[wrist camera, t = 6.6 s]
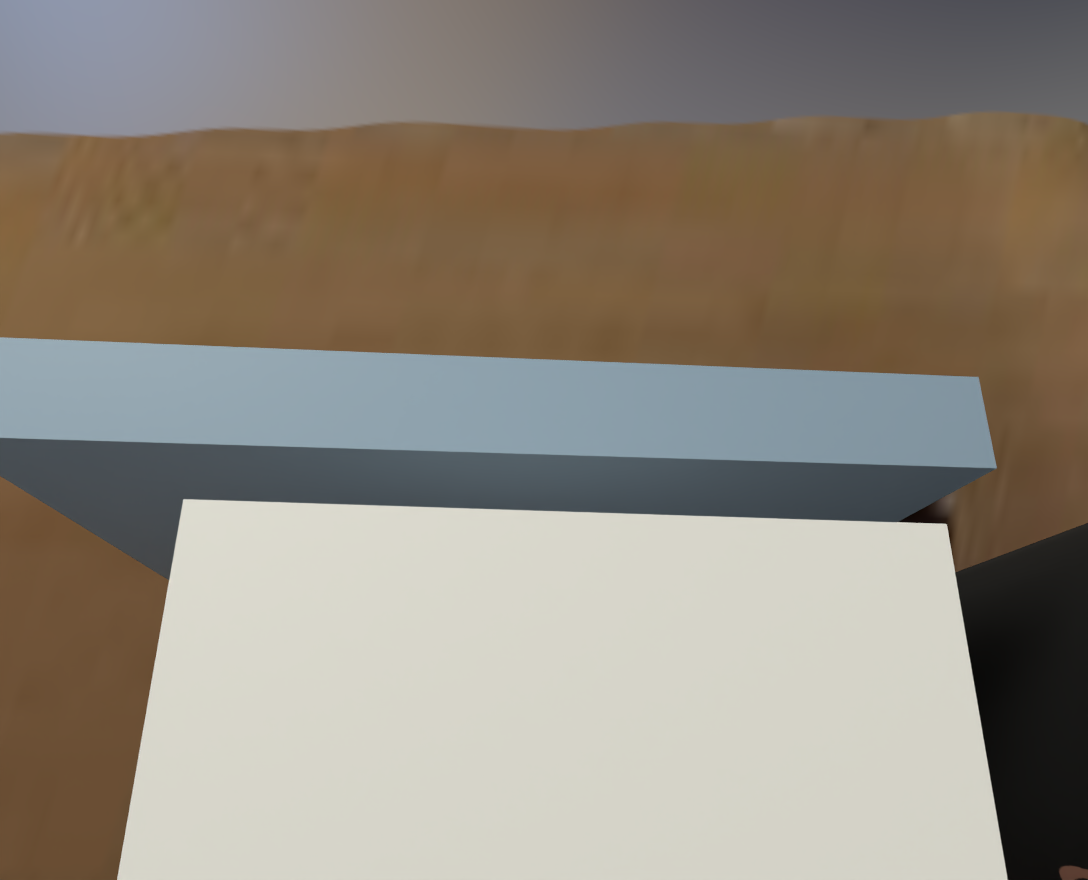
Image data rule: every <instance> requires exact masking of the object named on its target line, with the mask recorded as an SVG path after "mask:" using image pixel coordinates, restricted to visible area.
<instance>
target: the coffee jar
mask: <svg viewBox="0 0 1088 880" xmlns="http://www.w3.org/2000/svg"><path fill="white" fill-rule="evenodd" d="M955 575H956V581H957V587H958V593H959V598H960V604H961V610H962V616H963V622H964V628H965V633H966V639H967V645H968V651H969V657H970V663H971V668H972V674H973V680H974V686H975V692H976V698H977V703H978V709H979V715H980V721H981V727H982V733H983V738H984V744H985V750H986V756H987V762H988V768H989V774H990V779H991V785H992V791H993V797H994V803H995V809H996V814H997V820H998V826H999V832H1000V838H1001V844H1002V849H1003V855H1004V861H1005V867H1006V873H1007V879H1008V880H1088V523H1087V524H1084V525H1081V526H1079V527H1076V528H1073V529H1070V530H1068V531H1065V532H1062V533H1060V534H1057V535H1054V536H1052V537H1049V538H1046V539H1044V540H1041V541H1038V542H1036V543H1033V544H1030V545H1028V546H1025V547H1022V548H1020V549H1017V550H1014V551H1012V552H1009V553H1006V554H1004V555H1001V556H998V557H996V558H993V559H990V560H988V561H985V562H982V563H980V564H977V565H974V566H972V567H969V568H966V569H964V570H961V571H958V572H956V573H955Z"/></svg>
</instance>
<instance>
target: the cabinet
mask: <svg viewBox="0 0 1088 880" xmlns="http://www.w3.org/2000/svg"><path fill="white" fill-rule="evenodd" d="M117 880H1008V879H1007V873H1006V867H1005V861H1004V855H1003V849H1002V844H1001V838H1000V832H999V826H998V820H997V814H996V809H995V803H994V797H993V791H992V785H991V779H990V774H989V768H988V762H987V756H986V750H985V744H984V738H983V733H982V727H981V721H980V715H979V709H978V703H977V698H976V692H975V686H974V680H973V674H972V668H971V663H970V657H969V651H968V645H967V639H966V633H965V628H964V622H963V616H962V610H961V604H960V598H959V593H958V587H957V581H956V575H955V569H954V563H953V558H952V552H951V546H950V540H949V534H948V528H947V524H930V523H900V522H869V521H838V520H808V519H777V518H746V517H716V516H685V515H654V514H623V513H593V512H562V511H531V510H501V509H470V508H439V507H409V506H378V505H347V504H316V503H286V502H255V501H224V500H194V499H183V504H182V510H181V516H180V521H179V527H178V533H177V539H176V544H175V550H174V556H173V562H172V567H171V573H170V579H169V585H168V590H167V596H166V602H165V608H164V613H163V619H162V625H161V631H160V636H159V642H158V648H157V654H156V659H155V665H154V671H153V677H152V682H151V688H150V694H149V700H148V705H147V711H146V717H145V723H144V728H143V734H142V740H141V746H140V751H139V757H138V763H137V769H136V774H135V780H134V786H133V792H132V797H131V803H130V809H129V815H128V820H127V826H126V832H125V838H124V843H123V849H122V855H121V861H120V866H119V872H118V878H117Z"/></svg>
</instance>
